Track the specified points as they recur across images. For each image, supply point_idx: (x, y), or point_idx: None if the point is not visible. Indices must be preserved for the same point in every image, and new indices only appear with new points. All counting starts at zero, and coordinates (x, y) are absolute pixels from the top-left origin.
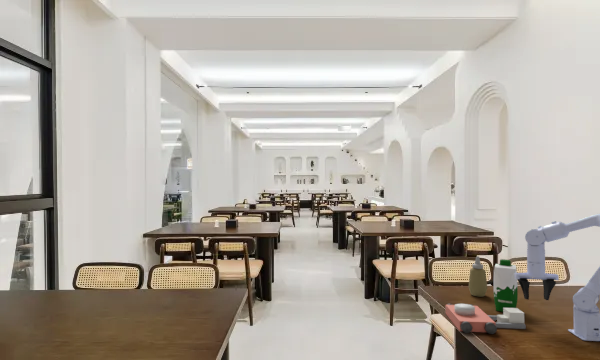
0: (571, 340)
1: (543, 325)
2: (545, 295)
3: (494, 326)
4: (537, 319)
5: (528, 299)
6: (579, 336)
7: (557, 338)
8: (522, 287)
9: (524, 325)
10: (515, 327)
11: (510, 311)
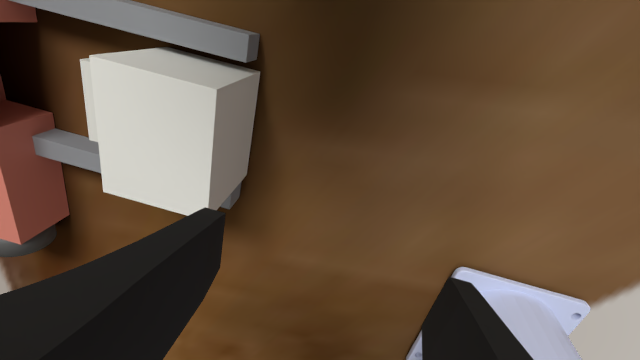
0: (358, 341)
1: (392, 164)
2: (445, 350)
3: (25, 250)
4: (464, 33)
5: (216, 268)
6: (418, 345)
7: (314, 316)
8: (61, 305)
9: (225, 205)
10: None
11: (118, 170)
